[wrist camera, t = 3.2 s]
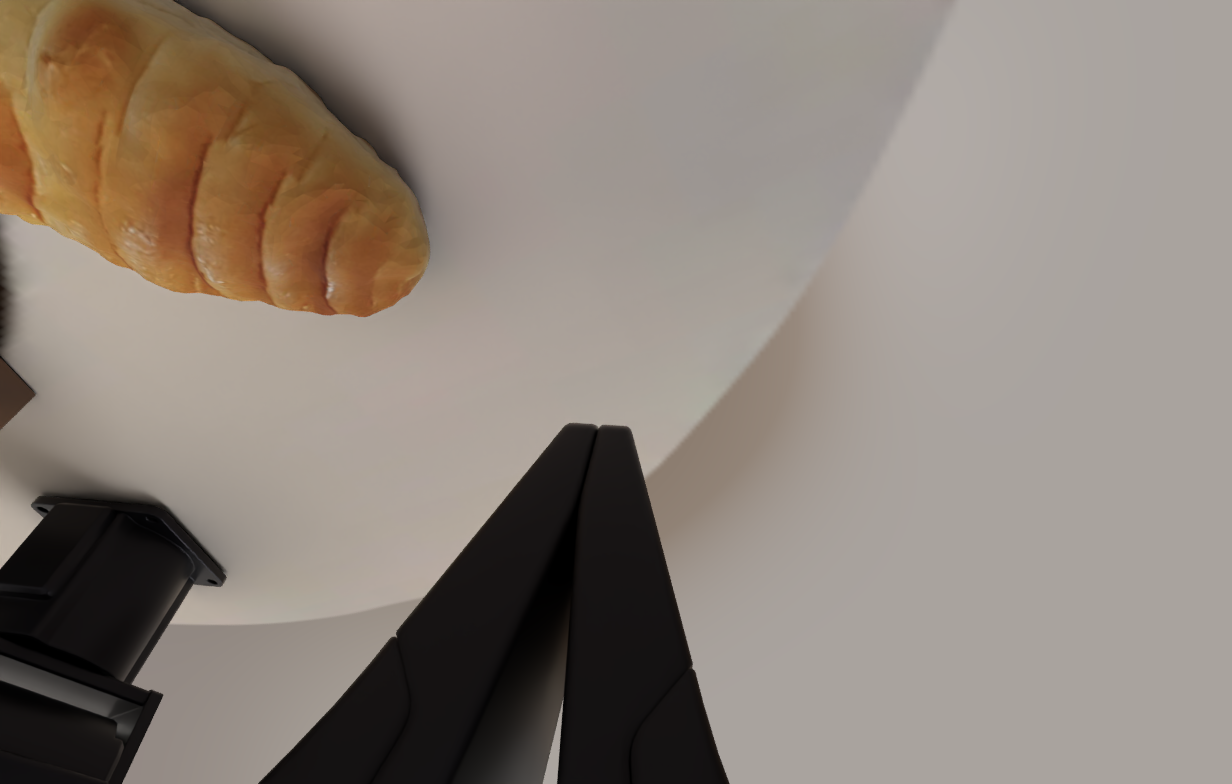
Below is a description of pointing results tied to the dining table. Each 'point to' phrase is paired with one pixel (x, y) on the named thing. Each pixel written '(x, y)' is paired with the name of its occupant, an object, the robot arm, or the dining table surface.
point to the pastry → (196, 160)
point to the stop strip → (11, 394)
